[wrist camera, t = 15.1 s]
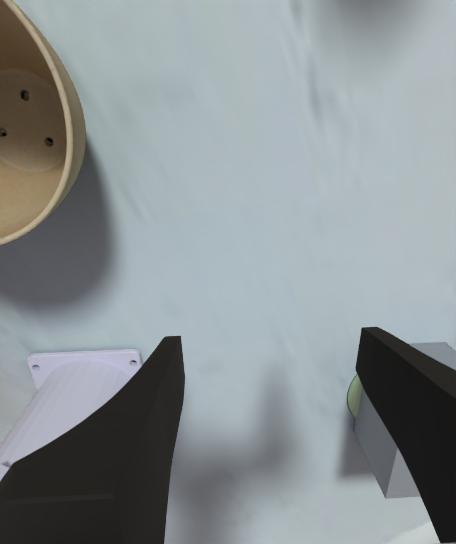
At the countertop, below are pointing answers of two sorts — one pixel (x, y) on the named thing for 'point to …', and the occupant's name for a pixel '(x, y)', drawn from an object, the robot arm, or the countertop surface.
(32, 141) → the flower pot
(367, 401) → the tall grey box
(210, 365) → the countertop surface
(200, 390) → the countertop surface
